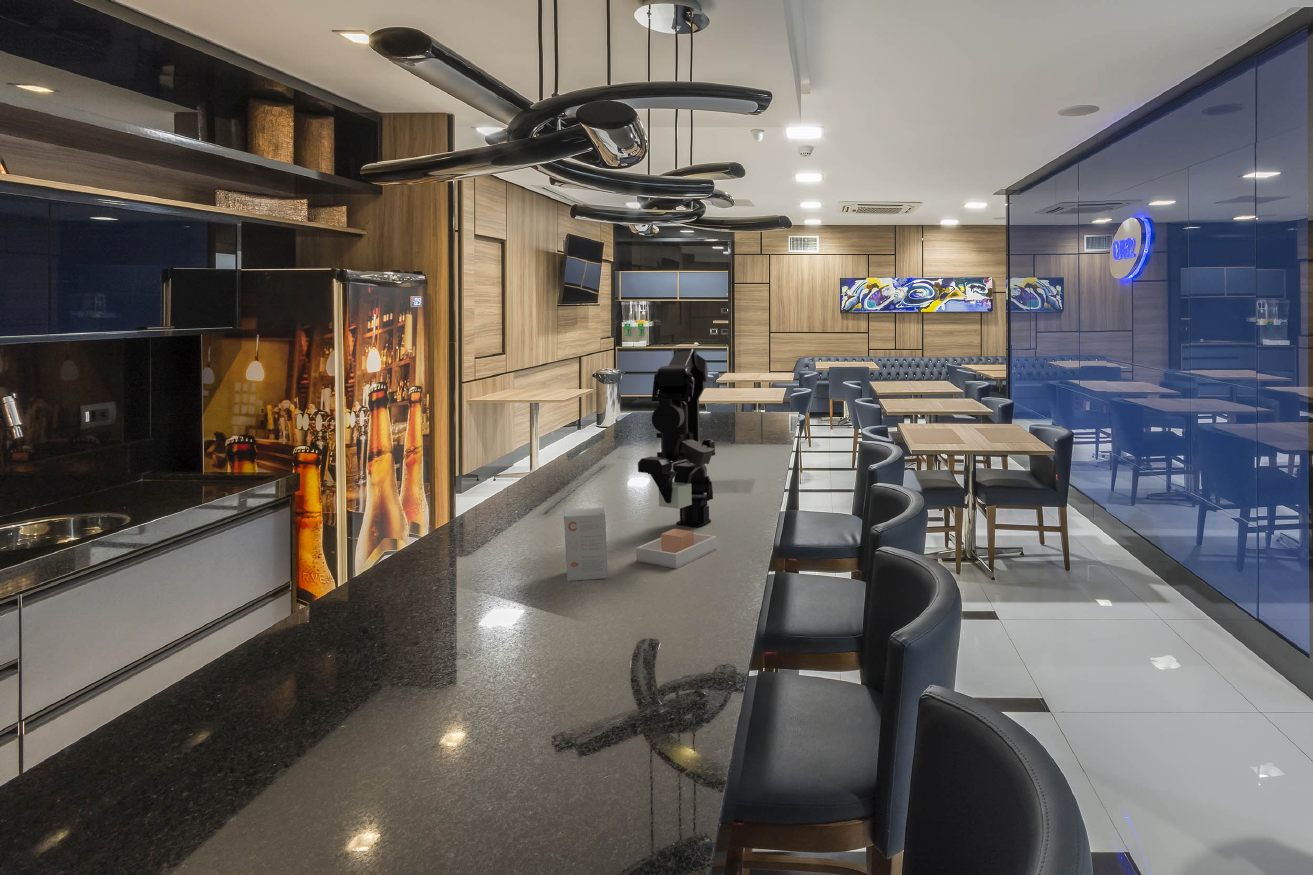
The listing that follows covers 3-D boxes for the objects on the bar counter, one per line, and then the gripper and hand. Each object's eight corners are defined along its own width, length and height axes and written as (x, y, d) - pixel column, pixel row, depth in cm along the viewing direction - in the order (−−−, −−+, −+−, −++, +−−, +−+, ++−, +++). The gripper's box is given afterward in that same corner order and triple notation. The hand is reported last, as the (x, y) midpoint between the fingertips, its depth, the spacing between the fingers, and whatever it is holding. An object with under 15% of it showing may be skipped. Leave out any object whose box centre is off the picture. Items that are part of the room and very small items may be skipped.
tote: (636, 561, 171) (636, 547, 171) (678, 543, 184) (678, 530, 184) (676, 568, 165) (675, 554, 165) (716, 549, 178) (716, 536, 178)
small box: (606, 569, 166) (604, 506, 164) (608, 579, 160) (605, 514, 158) (566, 571, 166) (564, 508, 164) (566, 581, 159) (563, 516, 157)
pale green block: (678, 508, 170) (678, 487, 170) (659, 506, 173) (658, 485, 173) (691, 504, 174) (691, 483, 174) (672, 502, 177) (672, 481, 177)
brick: (661, 554, 174) (661, 533, 174) (674, 548, 178) (674, 528, 178) (681, 557, 171) (680, 536, 171) (694, 551, 175) (693, 531, 175)
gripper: (680, 434, 159) (682, 513, 161) (730, 425, 174) (731, 497, 176) (635, 431, 166) (637, 507, 168) (686, 422, 181) (688, 492, 183)
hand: (675, 500), depth 173 cm, fingers closed on pale green block, 5 cm apart
